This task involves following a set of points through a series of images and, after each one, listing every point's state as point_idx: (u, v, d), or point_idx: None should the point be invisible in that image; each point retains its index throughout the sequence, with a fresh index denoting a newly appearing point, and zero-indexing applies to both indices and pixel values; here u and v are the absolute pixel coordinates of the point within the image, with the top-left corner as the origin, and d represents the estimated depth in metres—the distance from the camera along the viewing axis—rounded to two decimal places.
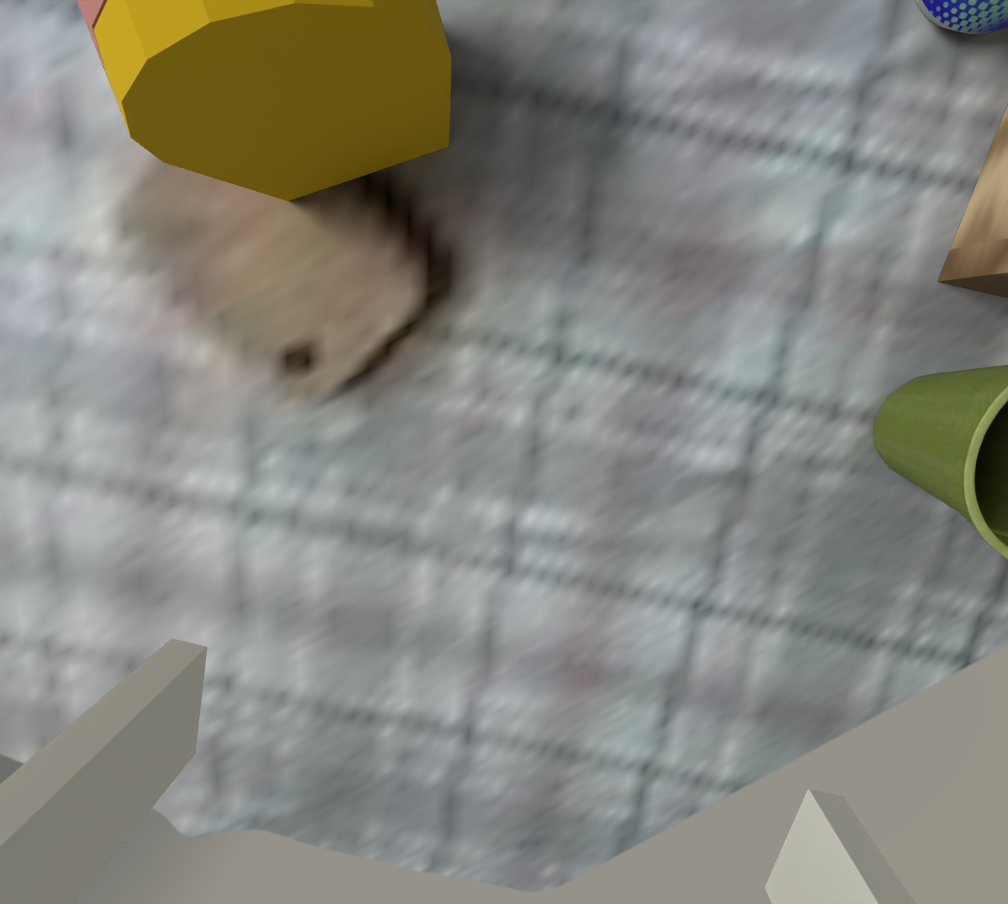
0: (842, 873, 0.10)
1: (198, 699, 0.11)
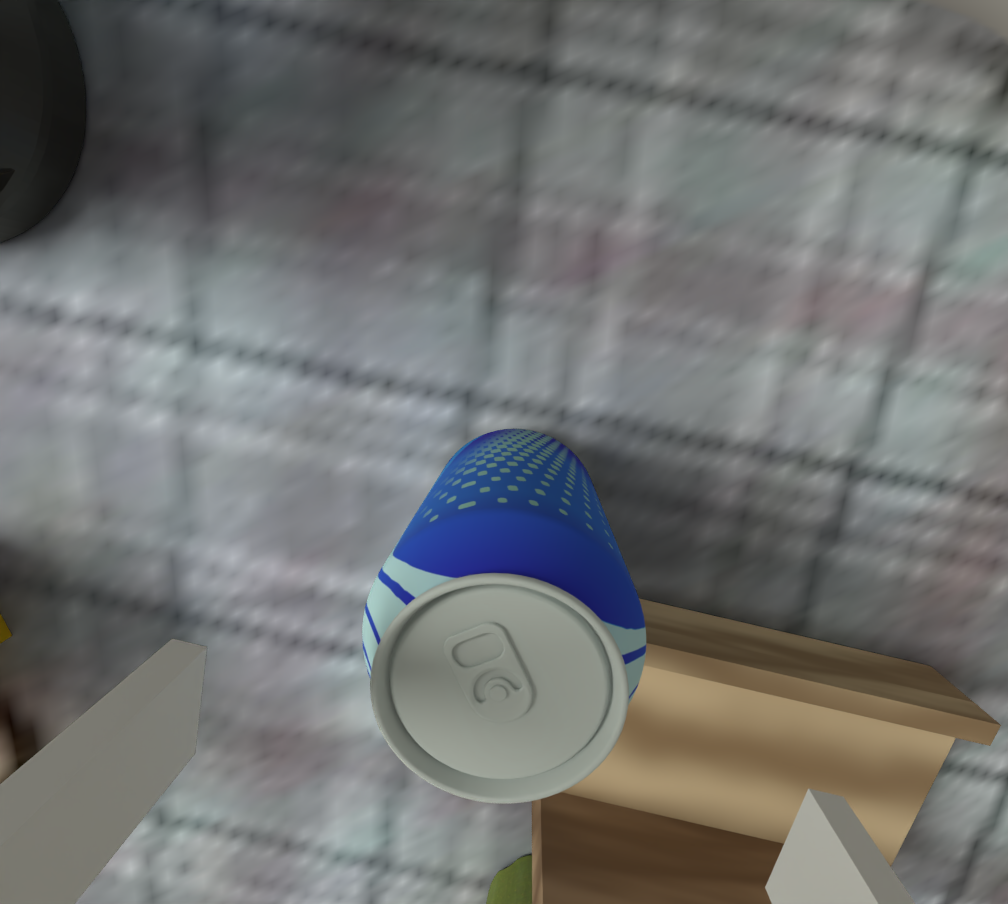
0: (843, 873, 0.10)
1: (199, 699, 0.11)
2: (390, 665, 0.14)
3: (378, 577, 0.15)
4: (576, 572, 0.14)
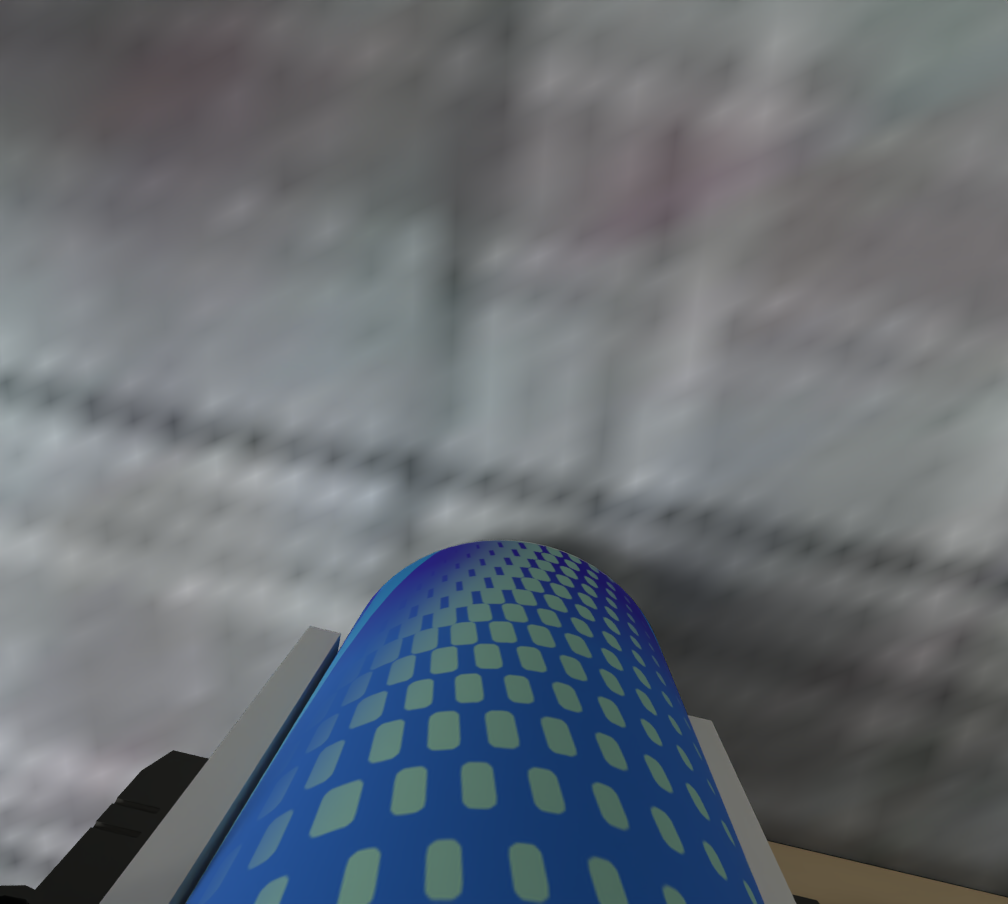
0: None
1: None
2: None
3: None
4: None
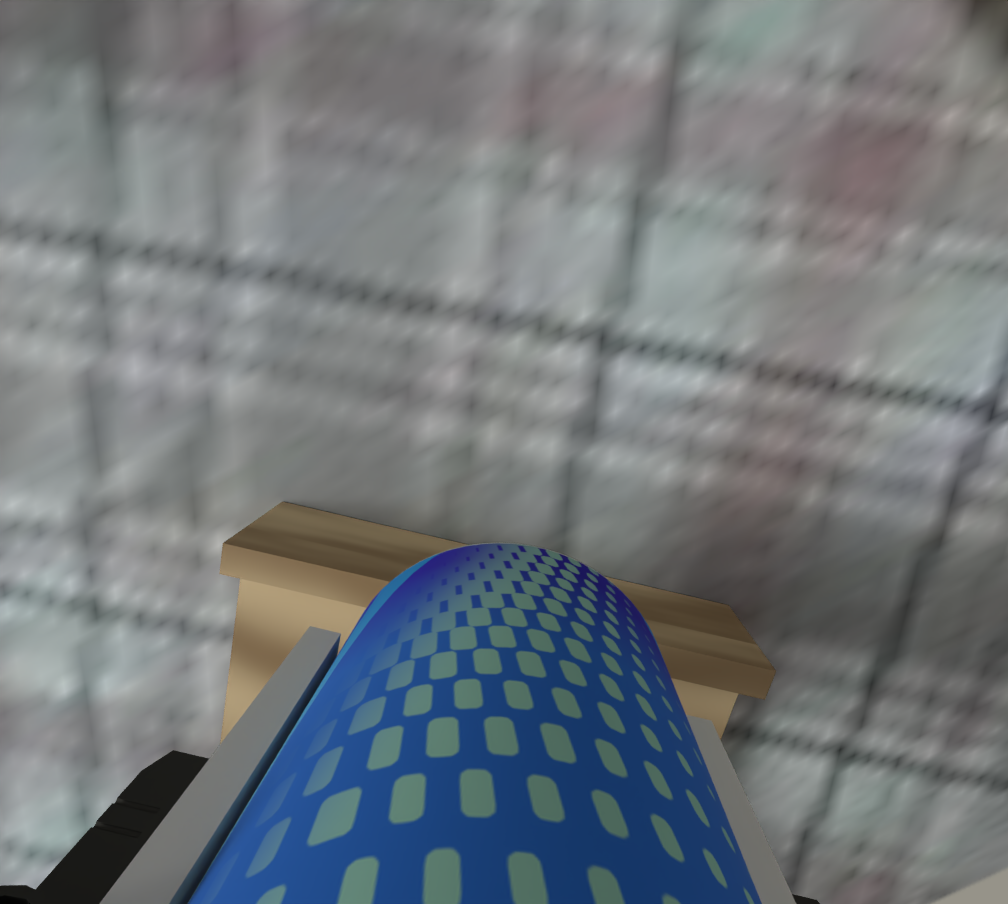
0: None
1: None
2: None
3: None
4: None
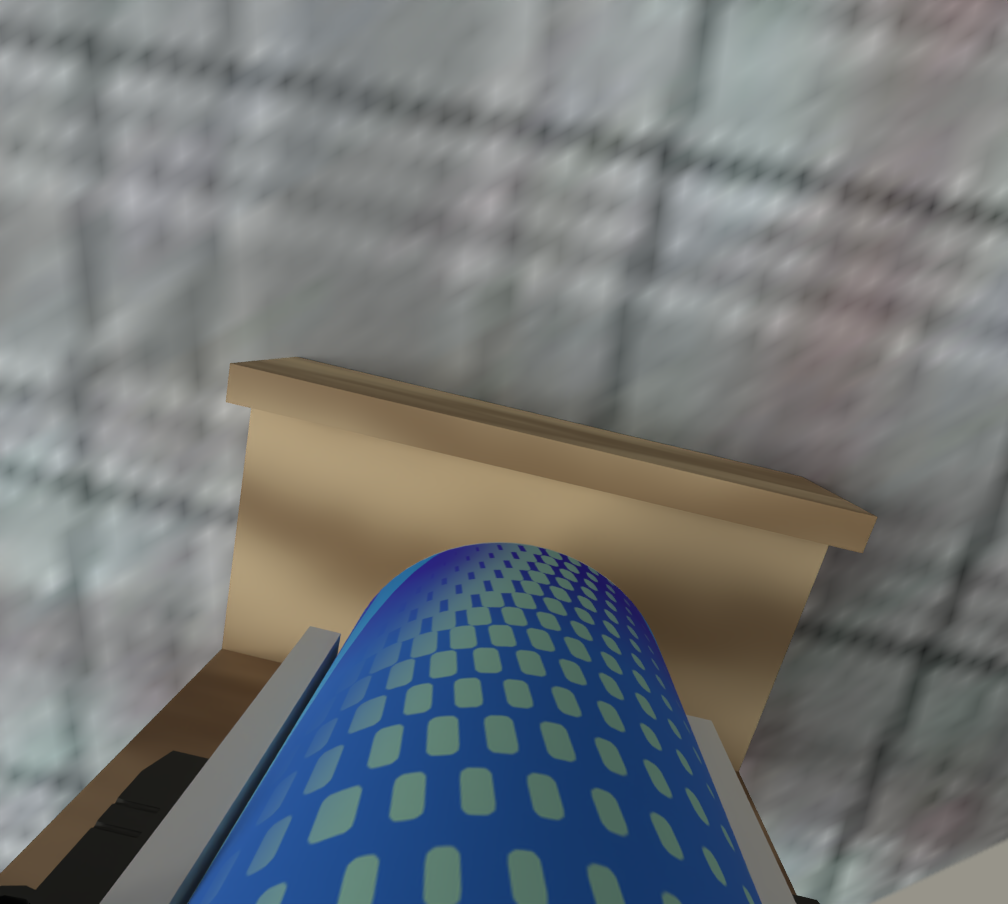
0: None
1: None
2: None
3: None
4: None
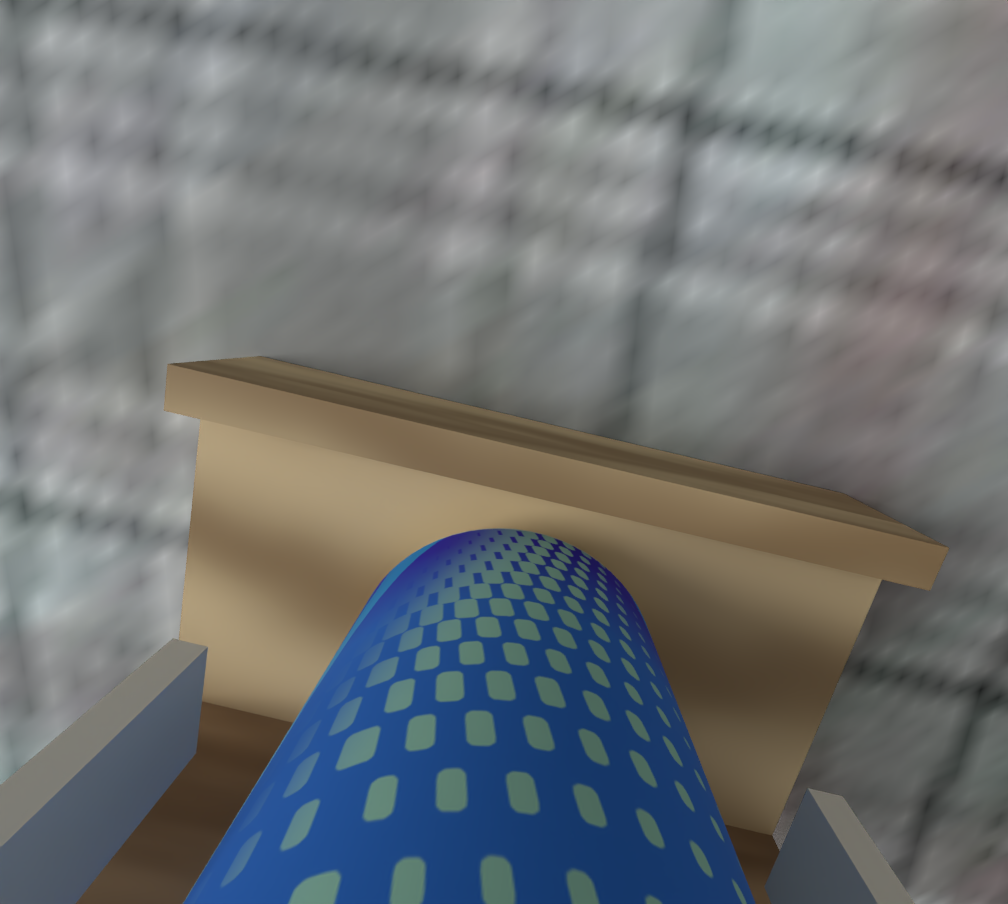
0: (841, 873, 0.10)
1: (199, 699, 0.11)
2: None
3: None
4: None
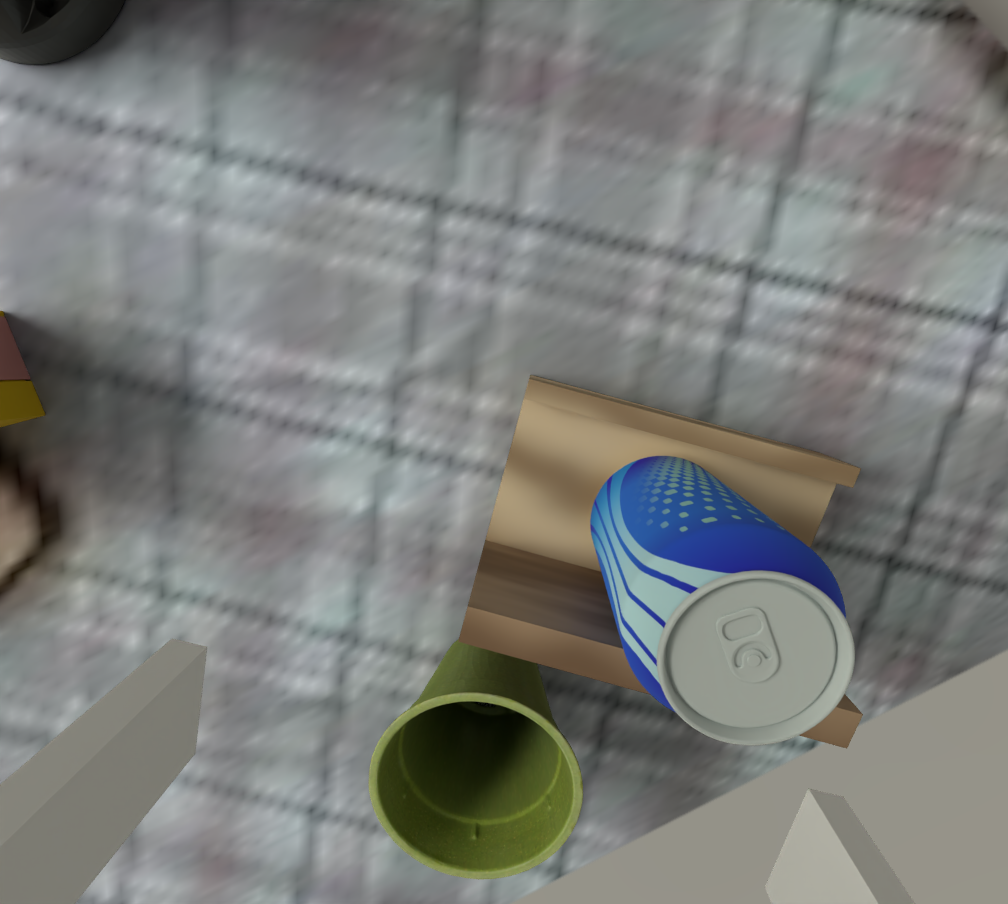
0: (843, 873, 0.10)
1: (198, 699, 0.11)
2: (669, 637, 0.19)
3: (643, 572, 0.20)
4: (811, 572, 0.18)
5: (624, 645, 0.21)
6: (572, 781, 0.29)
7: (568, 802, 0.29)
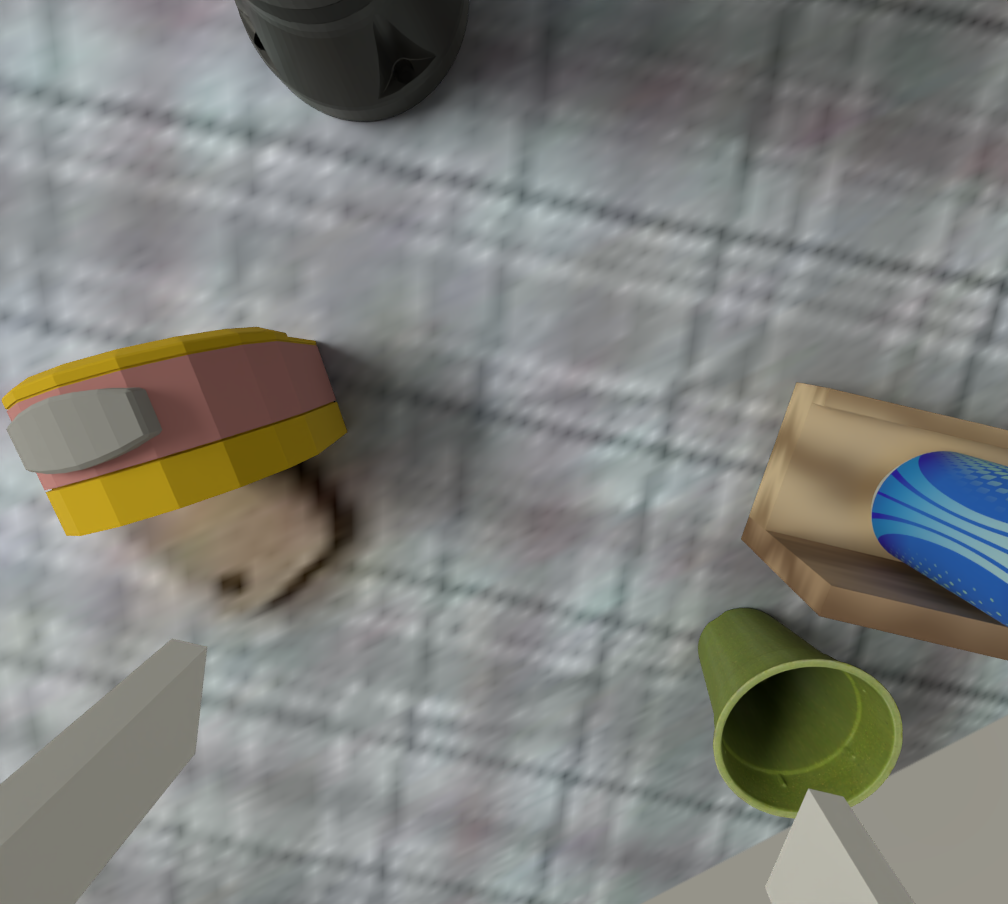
0: (843, 873, 0.10)
1: (198, 699, 0.11)
2: None
3: None
4: None
5: None
6: (893, 731, 0.34)
7: (884, 750, 0.34)
